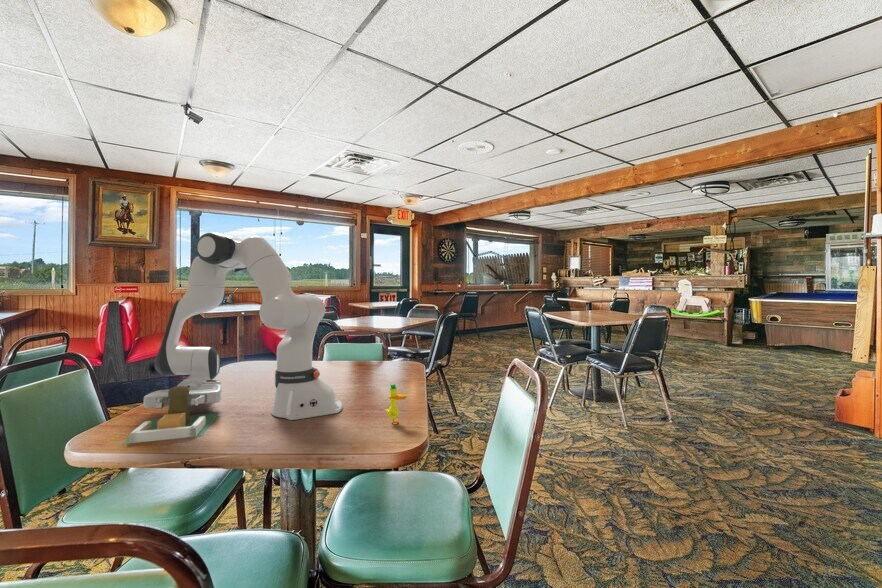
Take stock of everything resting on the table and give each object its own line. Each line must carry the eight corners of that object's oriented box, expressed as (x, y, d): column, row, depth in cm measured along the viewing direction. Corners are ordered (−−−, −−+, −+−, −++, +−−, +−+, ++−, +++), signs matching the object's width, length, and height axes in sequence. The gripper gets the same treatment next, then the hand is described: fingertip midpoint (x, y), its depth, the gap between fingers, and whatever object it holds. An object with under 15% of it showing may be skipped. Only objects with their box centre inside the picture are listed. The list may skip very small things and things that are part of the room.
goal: (205, 424, 111) (205, 415, 111) (195, 436, 102) (195, 427, 102) (145, 430, 106) (145, 421, 106) (129, 443, 97) (129, 433, 97)
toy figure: (406, 421, 116) (407, 382, 116) (406, 425, 113) (406, 386, 112) (385, 421, 116) (385, 382, 116) (383, 425, 112) (384, 385, 112)
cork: (178, 427, 108) (179, 390, 108) (160, 426, 109) (161, 388, 109) (195, 420, 114) (195, 384, 114) (177, 419, 115) (178, 383, 115)
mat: (219, 413, 121) (219, 412, 121) (201, 437, 102) (201, 436, 102) (153, 419, 115) (153, 418, 115) (121, 445, 97) (121, 444, 97)
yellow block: (185, 426, 109) (185, 412, 109) (178, 433, 104) (178, 419, 104) (165, 428, 108) (165, 414, 108) (157, 436, 102) (157, 421, 102)
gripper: (153, 384, 119) (133, 396, 106) (226, 380, 125) (215, 391, 112) (153, 404, 119) (133, 418, 106) (226, 398, 125) (215, 411, 112)
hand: (176, 404), depth 109 cm, fingers open, 7 cm apart
